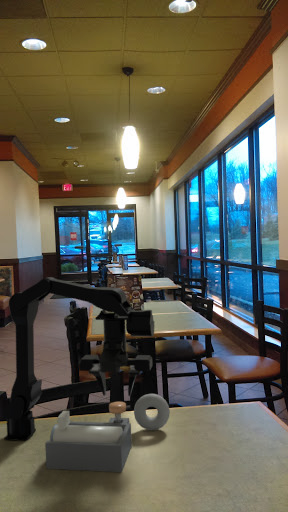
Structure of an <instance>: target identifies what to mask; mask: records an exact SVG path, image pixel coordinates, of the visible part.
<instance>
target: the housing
mask: <svg viewBox="0 0 288 512" xmlns="http://www.w3.org/2000/svg"><path fill="white" fill-rule="evenodd" d="M68 425H79V426H111V427H122V430H123V433H122V435H121V437H120V440H119V442H118V444H115V443H88V442H61V441H50V440H46V442H45V443H44V444H45V446H44V447H45V466H46V469H47V470H48V469H52V470H69V471H89V472H90V471H91V472H93V471H94V472H111V473H112V472H113V473H123V471H124V468H125V465H126V462H127V459H128V457H129V455H130V452H131V450H132V445H133V444H132V443H133V442H132V423H130V417H121V423H115V417H110V419H109V421H107V422H103V421H100V422H99V421H97V422H96V421H70V423H69V424H68Z"/></svg>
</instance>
